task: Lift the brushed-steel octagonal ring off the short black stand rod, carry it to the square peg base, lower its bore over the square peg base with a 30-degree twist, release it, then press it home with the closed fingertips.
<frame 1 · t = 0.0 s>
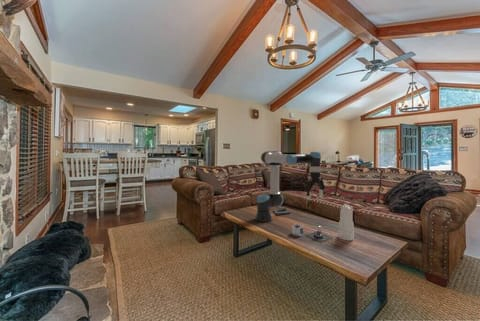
hand: (315, 198, 169), 28 cm above the table, fingers open, 13 cm apart
stand: (297, 235, 168), on the table
steel ring: (297, 234, 168), point 1 cm above the table, touching stand
square peg base: (319, 237, 163), on the table
decorative vase: (346, 237, 163), on the table
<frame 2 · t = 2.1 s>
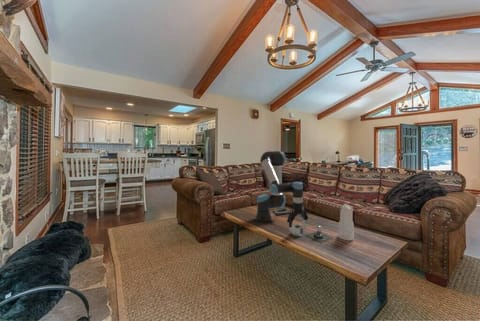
hand: (297, 229, 168), 5 cm above the table, fingers open, 13 cm apart
nothing on the table moved.
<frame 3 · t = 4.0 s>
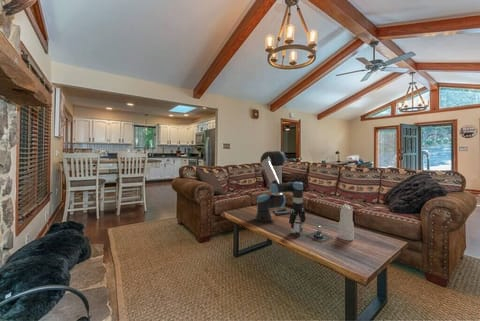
hand: (297, 230, 169), 3 cm above the table, fingers closed on steel ring, 8 cm apart
steel ring: (297, 230, 169), point 4 cm above the table, touching gripper
everything else where it was.
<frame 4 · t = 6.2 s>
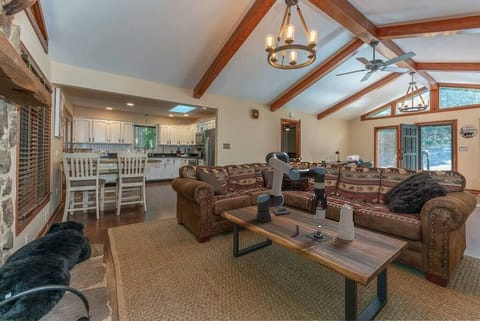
hand: (319, 218, 162), 15 cm above the table, fingers closed on steel ring, 8 cm apart
steel ring: (319, 216, 162), point 16 cm above the table, touching gripper
everything else where it was.
when the fingers open (3 cm above the table, at t = 8.6 s): steel ring stays where it is, resting on square peg base.
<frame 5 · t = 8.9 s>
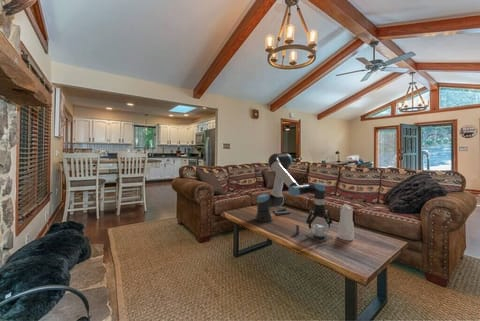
hand: (319, 232, 163), 4 cm above the table, fingers open, 11 cm apart
steel ring: (318, 233, 163), point 3 cm above the table, touching square peg base
everything else where it was.
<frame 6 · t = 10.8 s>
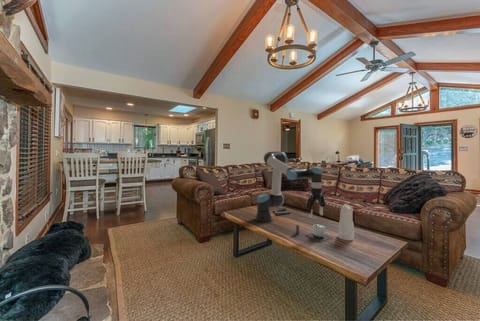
hand: (316, 216, 165), 16 cm above the table, fingers open, 11 cm apart
nothing on the table moved.
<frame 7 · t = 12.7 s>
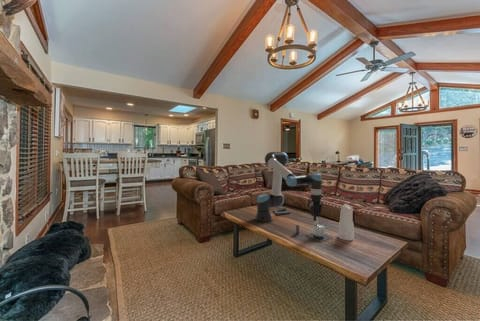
hand: (315, 224, 165), 9 cm above the table, fingers closed
steel ring: (318, 233, 163), point 3 cm above the table, touching gripper, square peg base
everything else where it was.
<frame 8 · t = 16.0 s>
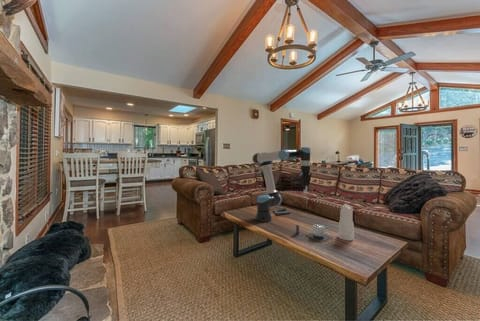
hand: (305, 193, 183), 29 cm above the table, fingers closed
steel ring: (318, 233, 163), point 3 cm above the table, touching square peg base
everything else where it was.
at the end: steel ring 0.2 cm off-centre on the square peg base, point 3.0 cm above the square peg base's base; steel ring tilted 0°; the gripper is holding nothing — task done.
